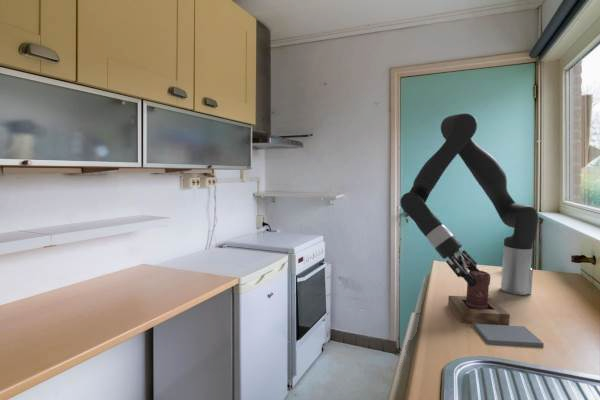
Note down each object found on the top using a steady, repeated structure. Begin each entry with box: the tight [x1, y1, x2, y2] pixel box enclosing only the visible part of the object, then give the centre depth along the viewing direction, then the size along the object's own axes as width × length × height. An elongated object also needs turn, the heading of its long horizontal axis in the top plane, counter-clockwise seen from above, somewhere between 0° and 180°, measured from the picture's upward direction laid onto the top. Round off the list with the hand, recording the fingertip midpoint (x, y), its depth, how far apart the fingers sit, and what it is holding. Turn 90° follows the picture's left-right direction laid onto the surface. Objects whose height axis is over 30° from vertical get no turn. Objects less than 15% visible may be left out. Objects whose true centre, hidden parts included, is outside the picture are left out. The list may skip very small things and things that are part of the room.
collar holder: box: [447, 295, 511, 326], centre depth 115 cm, size 14×14×4 cm
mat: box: [473, 324, 545, 348], centre depth 101 cm, size 14×10×1 cm
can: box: [466, 269, 491, 309], centre depth 114 cm, size 6×6×14 cm
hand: (478, 282), depth 114 cm, fingers open, 8 cm apart
